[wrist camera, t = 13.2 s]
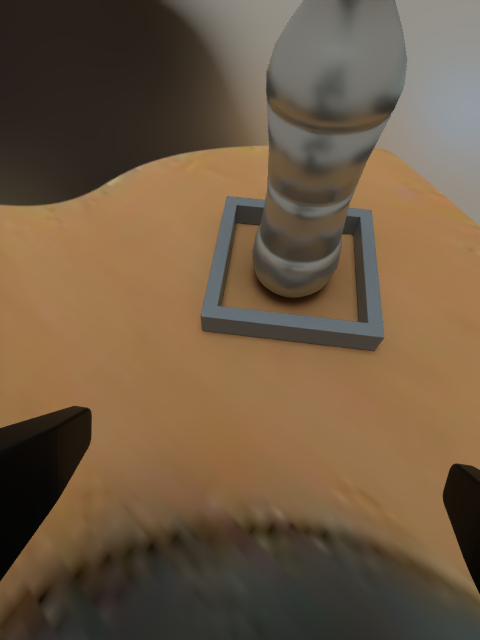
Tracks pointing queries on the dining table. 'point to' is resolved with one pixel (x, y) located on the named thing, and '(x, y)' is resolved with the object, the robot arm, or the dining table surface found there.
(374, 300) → the frame
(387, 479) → the dining table surface
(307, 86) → the plastic bottle
